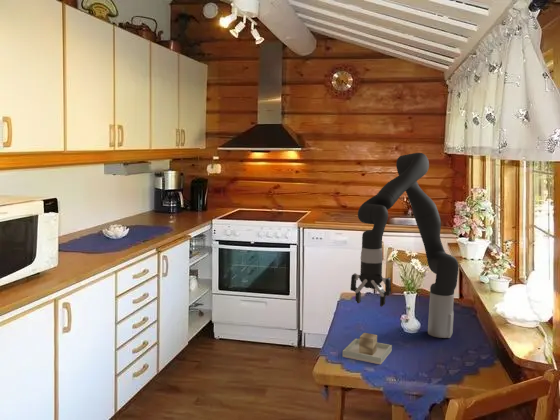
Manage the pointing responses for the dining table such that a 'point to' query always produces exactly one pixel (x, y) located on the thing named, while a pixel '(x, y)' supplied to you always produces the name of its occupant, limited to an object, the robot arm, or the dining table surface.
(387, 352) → the dish
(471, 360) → the dining table surface
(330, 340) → the dining table surface
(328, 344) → the dining table surface
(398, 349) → the dining table surface
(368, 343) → the birch block
